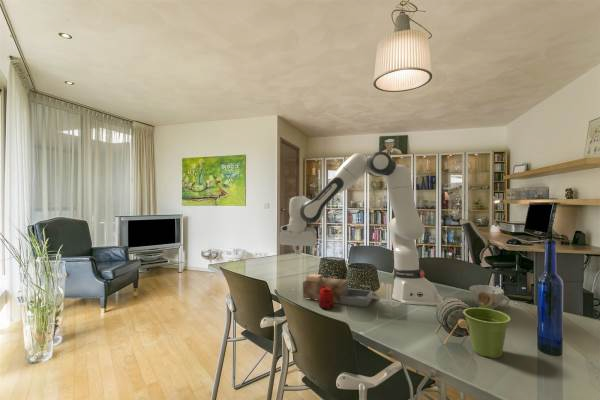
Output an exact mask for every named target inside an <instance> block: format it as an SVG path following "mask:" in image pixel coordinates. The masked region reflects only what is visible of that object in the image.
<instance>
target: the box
mask: <svg viewBox="0 0 600 400" xmlns="http://www.w3.org/2000/svg"><path fill="white" fill-rule="evenodd" d="M372 298H373V299H374V291H373V290H369V289H368V290H367V289H359V288H357V289H356V288H348V289H347V290H346V291H345V292H344V293H343V294H342V295H341V296H340V303H339V305H344V304H347V305H346V306H351V305H354V306H353V307H359V306H361V308H367V307H368V306H369V305H368V304H370V303H371V302H372V301H373V299H372ZM370 301H371V302H370ZM367 305H368V306H367Z"/></svg>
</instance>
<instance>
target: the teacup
mask: <svg viewBox="0 0 600 400" xmlns="http://www.w3.org/2000/svg"><path fill="white" fill-rule="evenodd" d="M493 290H494V291H495V292H492V291H493ZM480 292H484V293H486V294H488V296H489V297H491V296H490V294H491V293H493V294H494V295H495V296H494V301H493V304H492V305H491V306H489V307H490V308H491V309H492V310H495V309H496V308H497V307H507V306H508V305H509V303H510V298H509V297H508V296H507V295H505V291H504V289H502V288H501V287H497V286H493V285H486V284H485V285H482V284H475V285H470V287H469V293H470V296H471V298H472V300H473V301H474V302H475V304H476V305H477V307H479V306H482V305H480V304H479V303H478V301H479V299H478V294H479V293H480ZM504 299H505V300H506V303H502V302H503V300H504Z"/></svg>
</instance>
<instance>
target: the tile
mask: <svg viewBox="0 0 600 400" xmlns="http://www.w3.org/2000/svg"><path fill="white" fill-rule="evenodd" d="M321 275H322V274H321ZM321 275H320V274H313V273H311V274H309V275H307V276H305V279H306V280H305V281H313V282H318V281H320V278H321V277H319V276H321ZM322 278H323V277H322ZM322 278H321V279H322Z"/></svg>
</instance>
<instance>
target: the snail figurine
mask: <svg viewBox="0 0 600 400" xmlns="http://www.w3.org/2000/svg"><path fill="white" fill-rule="evenodd" d="M492 292H495V291H494V290H493V291H492ZM490 296H491V297H489V296H488V294H486V293H484V292H480V293H479V294H478V299H479V301H478V303H479V304H480V305H482V306H477V308H486V309H491V308H490V307H489V306H491V305H492V304H493V301H494V296H495V295H494V294H493V293H491V294H490ZM491 310H493V309H491Z"/></svg>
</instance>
